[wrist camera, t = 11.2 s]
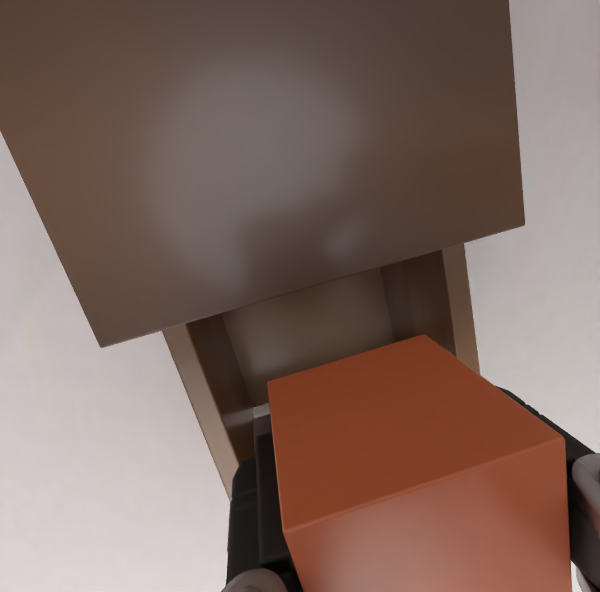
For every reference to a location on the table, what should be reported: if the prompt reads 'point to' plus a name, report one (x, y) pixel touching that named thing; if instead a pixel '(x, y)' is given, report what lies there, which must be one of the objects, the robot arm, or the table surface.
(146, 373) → the table surface
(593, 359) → the table surface
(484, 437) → the block
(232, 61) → the cabinet
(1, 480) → the table surface
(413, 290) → the drawer
